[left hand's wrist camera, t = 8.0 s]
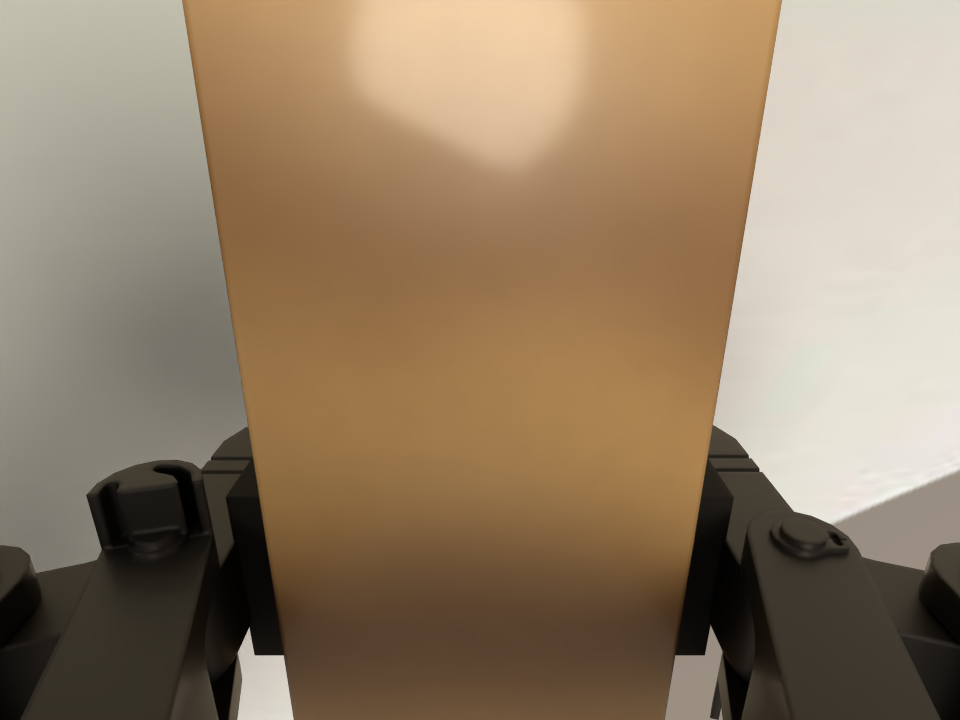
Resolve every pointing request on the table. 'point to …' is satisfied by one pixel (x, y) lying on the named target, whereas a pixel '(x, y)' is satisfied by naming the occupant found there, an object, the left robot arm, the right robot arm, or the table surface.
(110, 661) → the left robot arm
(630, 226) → the bar
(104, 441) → the table surface
